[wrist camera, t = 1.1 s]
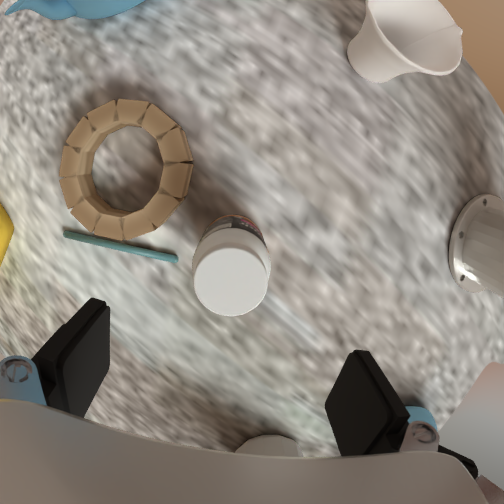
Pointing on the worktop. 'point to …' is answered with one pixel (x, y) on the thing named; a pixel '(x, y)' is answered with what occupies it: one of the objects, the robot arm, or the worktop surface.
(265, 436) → the jar
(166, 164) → the segmented tan ring
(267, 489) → the robot arm
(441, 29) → the cup
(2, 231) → the teapot
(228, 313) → the pill bottle
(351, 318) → the worktop surface
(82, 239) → the green stick
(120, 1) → the teapot
